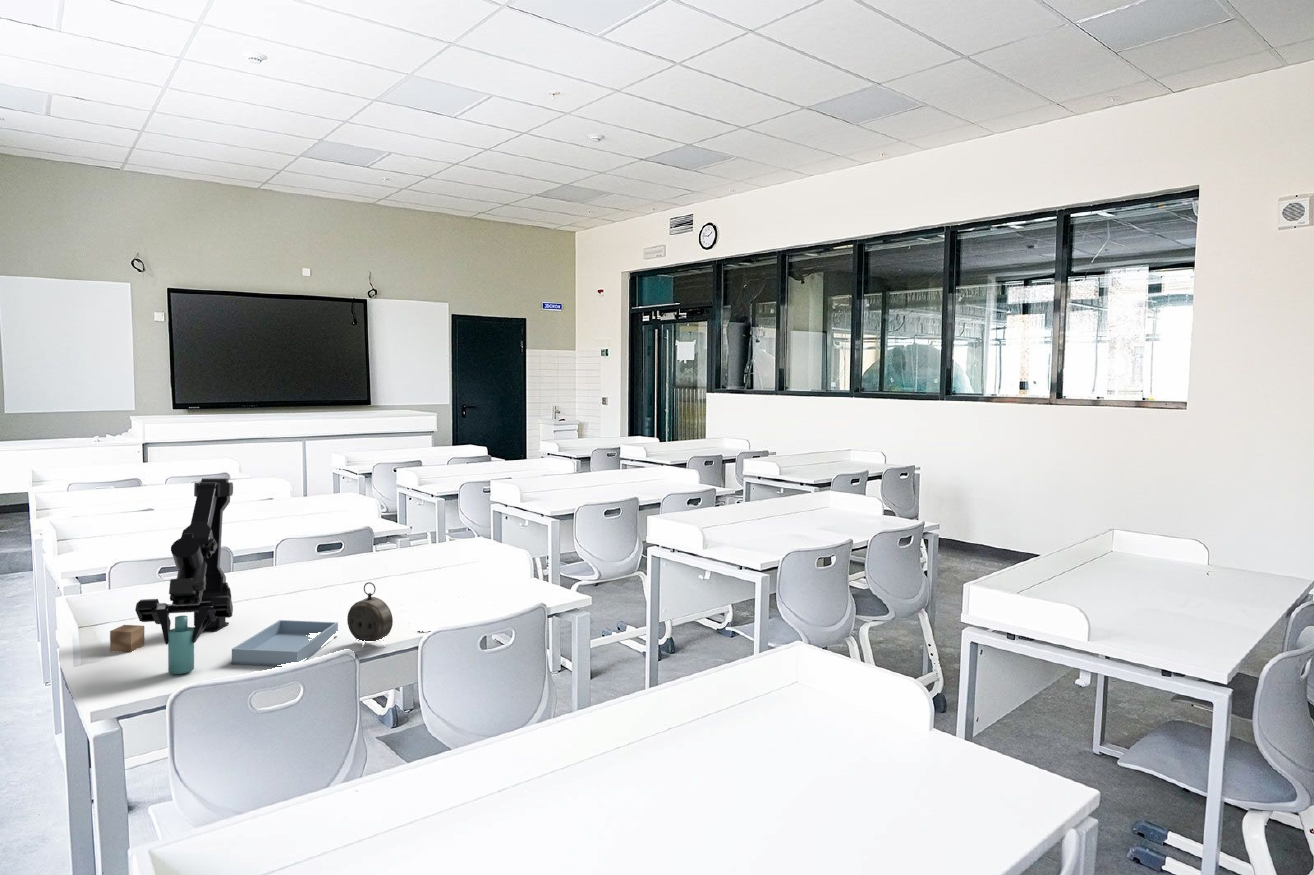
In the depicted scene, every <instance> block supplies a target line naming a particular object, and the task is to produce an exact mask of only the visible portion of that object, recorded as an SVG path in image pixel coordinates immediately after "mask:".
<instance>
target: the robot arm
mask: <svg viewBox="0 0 1314 875" xmlns="http://www.w3.org/2000/svg"><path fill="white" fill-rule="evenodd" d="M193 486H194V489H193V490H194V492H193V497H196V499H195V504H194V507H193V512H192V517H191V519H190V520H191V522H190V524H189V525H188V526H187V527H186V528H184V529H183V530H182V533H181V536H180V538H178V539H176V540H175V541H174V542H173V543H172V544H171V546H170V551H171V556H172V558H173V561H174V564H175V568H176V569H177V576H176V578H172V579H170V580H169V589H168V595H169V601H170V602H172V603H171V604H169V603H167V602H160V601H159V598H148V599H144V598H143V599H139V600H138V602H137V603H136V605H135V609H134V610H135V612H136V615H137V618H138V620H139V622H142V623H151V622H154V623H155V624H156V625H160V626H161V627H160V628H161V632H162V637H163V640H164V644H165V645H168V631H169V630H171V619H170V614H181V613H184V614H185V613H193V627H192V628H194V633H193V639H192V641H193V643H194V644H195V643H196V642H197V641H198V639H199V638H200V637H201V635H202V633H203V632H204V631H205V632H207V631H208V632H217V631H220V630H221V629H223V628H224V627H227V626H228V625H229V623H230V622H229V621H226V620H227V618H228V619H230V618H231V617H233V612H234V604H233V601H232V591H231V588H230V586H229V584H228V582H227V576H226V574H225V572H224V571H223V570H222V568H221V552H222V551H221V550H222V549H221V548H222V531H223V515H224V514H223V513H224V511H225V509H227V506H229V504H230V502H231V497H232V496H233V494H234V483H233V482H232V481H231V482H230V481H229V479H228V478H223V477H222V478H201V481H199V482H194V484H193Z"/></svg>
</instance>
